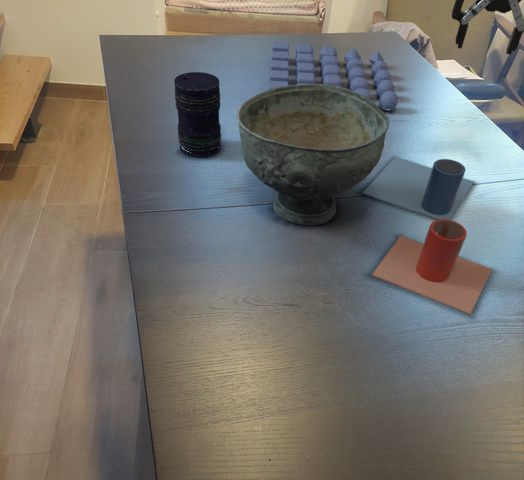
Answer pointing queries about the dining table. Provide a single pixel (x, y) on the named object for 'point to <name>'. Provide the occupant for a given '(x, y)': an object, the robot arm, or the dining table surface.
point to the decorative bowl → (310, 145)
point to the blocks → (333, 71)
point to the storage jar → (198, 114)
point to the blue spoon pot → (442, 186)
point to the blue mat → (410, 187)
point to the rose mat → (447, 292)
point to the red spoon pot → (440, 250)
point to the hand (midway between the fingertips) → (483, 49)
